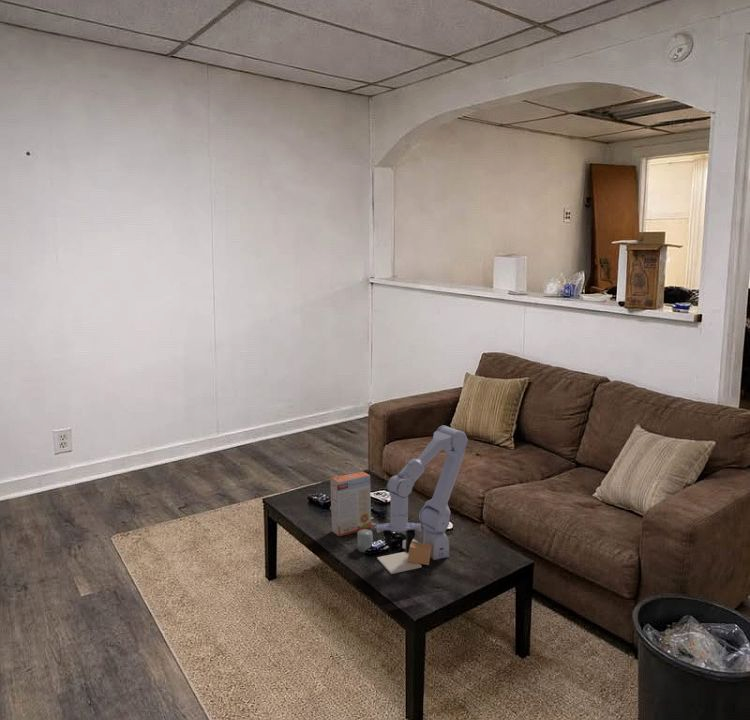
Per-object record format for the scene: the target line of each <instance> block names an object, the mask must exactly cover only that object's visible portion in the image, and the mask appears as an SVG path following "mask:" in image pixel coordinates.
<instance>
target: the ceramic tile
mask: <svg viewBox="0 0 750 720" xmlns="http://www.w3.org/2000/svg"><path fill="white" fill-rule="evenodd" d="M408 556H409V552H408V553H406V551H402V552H396V553H390V554H387V555H382V556H377V557H376V558H377V560H378V561H379V562H380V564H381V565H382V566H383V567H384V568H385V569H386V570H387V572H389V574H390V575H392V574H398V573H401V572H406V571H412V570H416V569H419V568H421V569H422V567H423V566H422V565H423V564H419V563H414V562H409V561H408Z"/></svg>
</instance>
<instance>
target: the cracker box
mask: <svg viewBox="0 0 750 720" xmlns="http://www.w3.org/2000/svg"><path fill="white" fill-rule="evenodd" d="M371 494H372V493H371V475H370V474H368V473H366V472H365V471H358V472H353V473H350V474H345V475H339V476H335V477H330V508H331V509H330V511H331V512H330V513H331V532H332V533H333V534H335V535H336V536H337V537H339V538H340V537H344V536H347V535H350V534H353V533H357V532H358V531H359V530H363V529H367V530H370V529H371V528H372V512H371V511H372V510H371V509H372V508H371V507H372V505H371V501H372V498H371V497H372V495H371Z"/></svg>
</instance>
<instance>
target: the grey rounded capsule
mask: <svg viewBox="0 0 750 720" xmlns="http://www.w3.org/2000/svg"><path fill="white" fill-rule="evenodd" d="M356 533H357V539H356V540H357V551H358V552H361V553H366V552H365V551H366V550H367V549H368V548H370V547H371V546H372V544H373V531H372V530H370V529H363V530H359V531H358V532H356Z"/></svg>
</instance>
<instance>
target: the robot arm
mask: <svg viewBox="0 0 750 720" xmlns="http://www.w3.org/2000/svg"><path fill="white" fill-rule="evenodd" d="M432 435H433V436H432V437H433V438H432V439H431V440H430V442H429V443H428V445H427V446H426V447H425V448H424V449H423V451H422V452H421V453H420V454H419V456H418V457H417V458H412V459H411V460H408V461H407V464H406V465H405V466H404V467H403V468H402V469H401V470H400V471H399V472H398V473H397V474H396V475H395V474H394V475H393V476H391V477H390V478H389V480H388V481H387V484H386V489H387V491H388V492H389V496H390V502H389V503H390V505H389V506H390V509H389V510H390V511H389V513H390V515H389V516H390V520H389V521H390V522H386V523H380V524H376V533H378V534H379V533H381V532H382V533H383V536H384V539H385V541H386V543H387V546H388V552H389V554H393V553H392V551H393V550H392V538H393V537H392V532H395V531H406V538H405V540H406V550H405V552H406V553H409V548H410V544H411V542H412V540H413V539H415V537H416V536H415V535H416V531H417V532H422V530H423V533H422V534H423V536H422V537H423V539H422V543H424V544H430V545H432V547H431V554H430V559H432V560H433V561H435V560H440V559H444V558H449V556H450V539H449V537H448V536H447V535H446V531H447V529H448V527H449V526H450V518H451V514H452V513H451V510H450V507H449V504H448V503H449V500H450V497H451V495H452V491H453V489H454V485H455V483H456V480H457V477H458V474H459V471H460V470H461V469H460V468H461V465H462V463H463V460H464V457H465V450H466V447H467V444H468V442H469V439H468V437H467V435H466V433H465V432H464V431H463V430H458V429H456V428H452V427H450V426H447V425H441V426H439V427H438V428H437V429H436V431H434V432H433V434H432ZM441 451H445V453H446V457H445V461H444V463H443V466H442V469H441V473H440V474H439V477H438V481H437V484H436V486H435V489H434V492H433V494H432V498H431V499H429V500H426V501H425V503H424V505H423V507H422V508H421V509H420V511H419V515H418V520H419V522H420V523H419V522H418V523H416V522H409V521H408V520H409V519H408V518H409V495H410V494H411V493H412V491H413V487H414V485H415V483H416V481H417V480H419V478H420V477H421V476H422V475H423V474H424V472H425V468H426V467H425V466H426V465H428V463H430V461H432V460H433V459H434V458H435V457H436V456H437V455H438V454H439V453H440V452H441ZM422 528H423V529H422Z"/></svg>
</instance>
